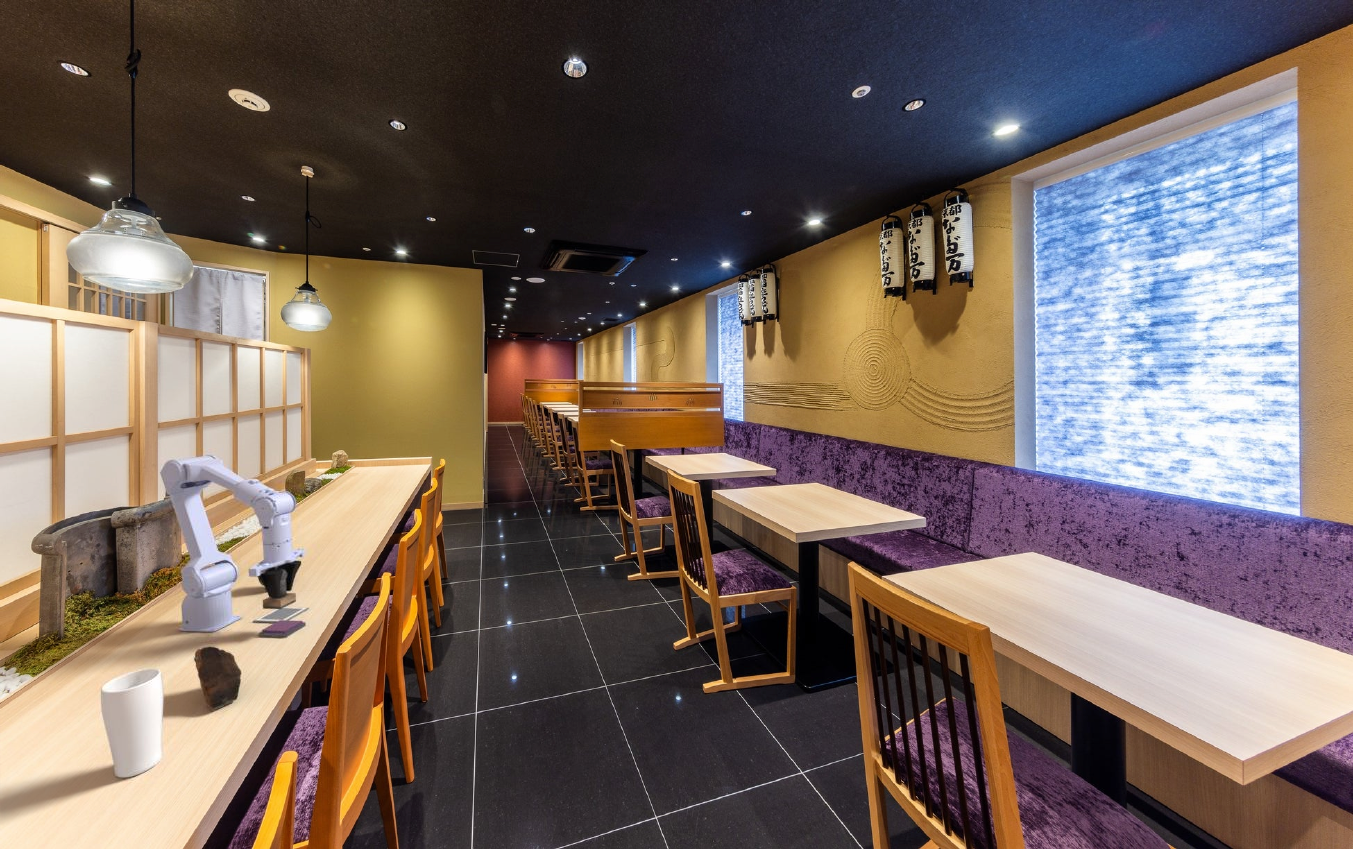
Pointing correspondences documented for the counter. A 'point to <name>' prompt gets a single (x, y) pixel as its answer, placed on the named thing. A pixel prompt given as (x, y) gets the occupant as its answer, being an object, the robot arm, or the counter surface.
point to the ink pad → (282, 628)
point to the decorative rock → (217, 676)
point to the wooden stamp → (280, 596)
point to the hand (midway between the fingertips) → (280, 593)
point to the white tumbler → (134, 720)
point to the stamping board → (281, 614)
